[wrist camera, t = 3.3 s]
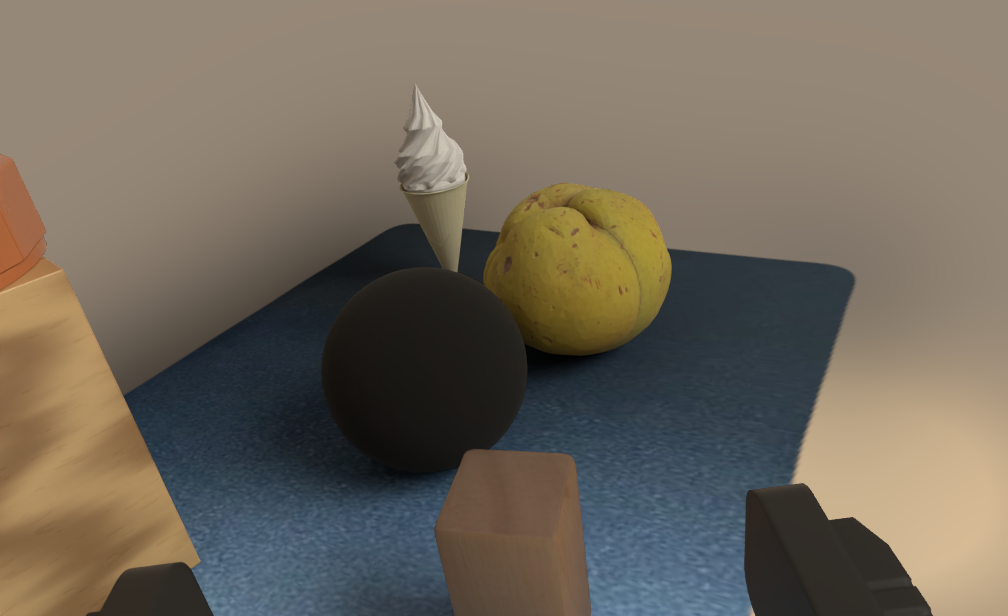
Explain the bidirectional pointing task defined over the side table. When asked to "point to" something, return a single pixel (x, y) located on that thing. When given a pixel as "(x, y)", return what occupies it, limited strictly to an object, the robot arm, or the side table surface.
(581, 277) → the fruit
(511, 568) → the wooden block
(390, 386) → the decorative ball
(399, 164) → the ice cream cone
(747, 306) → the side table surface
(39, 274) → the stand
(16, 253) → the pan
